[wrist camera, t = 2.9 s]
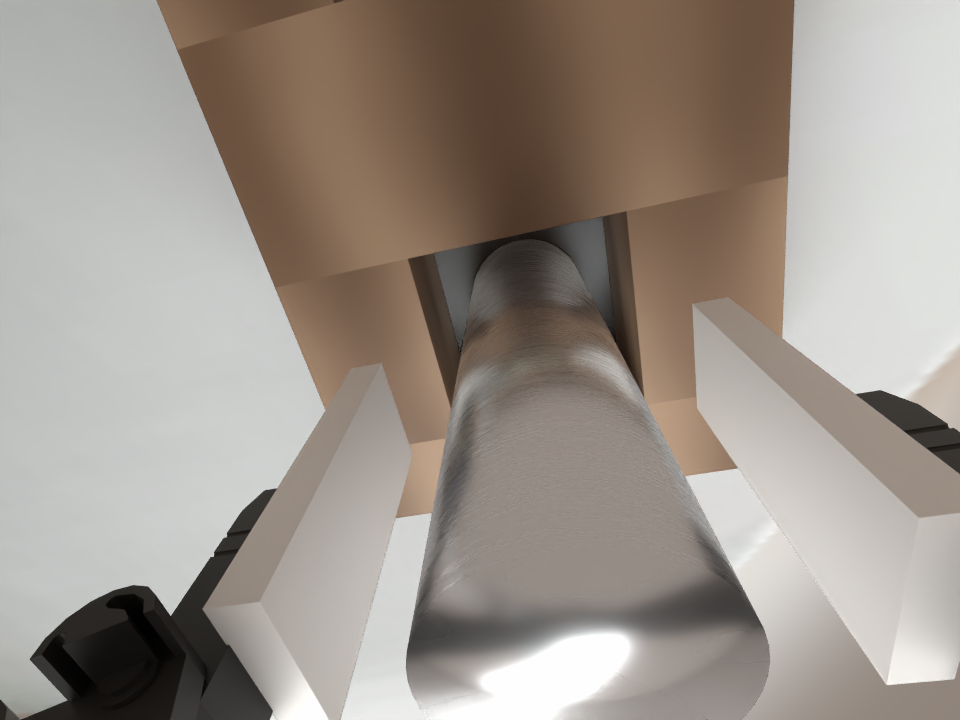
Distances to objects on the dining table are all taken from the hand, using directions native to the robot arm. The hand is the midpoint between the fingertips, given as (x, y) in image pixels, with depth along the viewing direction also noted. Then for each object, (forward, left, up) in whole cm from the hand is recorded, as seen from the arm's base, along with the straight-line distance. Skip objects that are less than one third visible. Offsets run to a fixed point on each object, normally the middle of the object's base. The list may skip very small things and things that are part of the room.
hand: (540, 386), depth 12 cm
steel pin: (0, 0, -7) cm, 7 cm away
